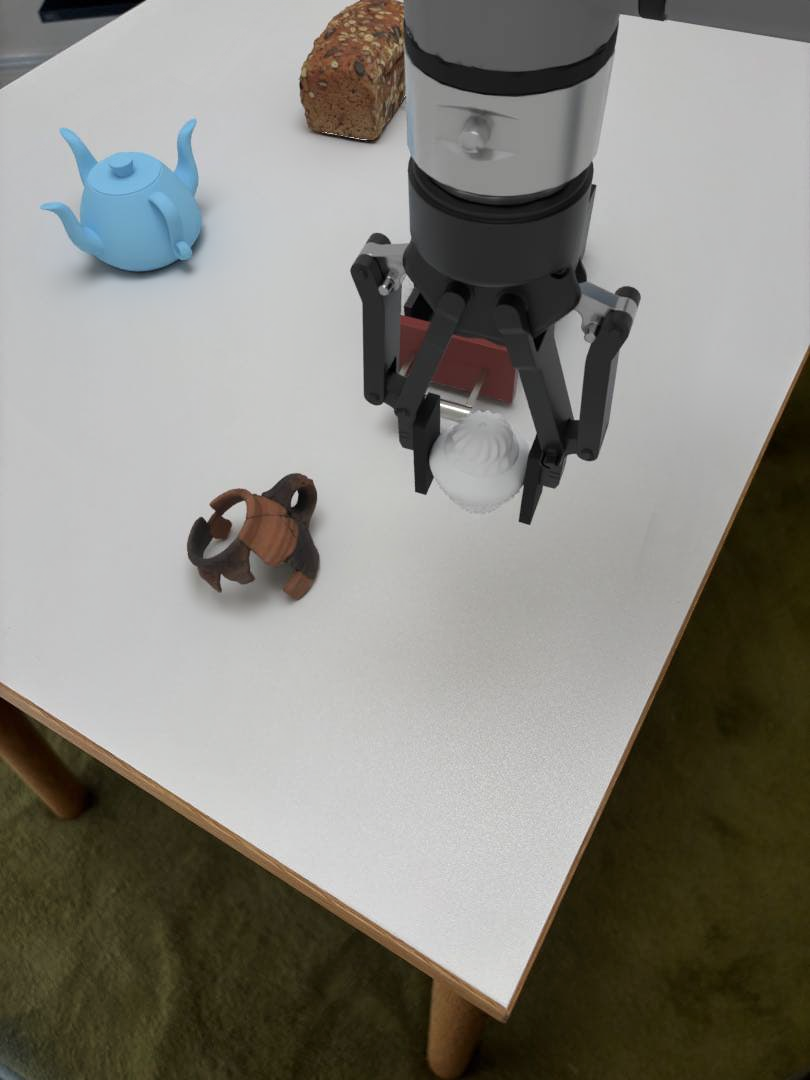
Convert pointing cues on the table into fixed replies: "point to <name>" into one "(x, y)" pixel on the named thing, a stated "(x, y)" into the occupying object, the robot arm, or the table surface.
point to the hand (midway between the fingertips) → (478, 491)
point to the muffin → (480, 462)
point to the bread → (356, 70)
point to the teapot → (134, 206)
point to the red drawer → (457, 361)
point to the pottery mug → (260, 535)
